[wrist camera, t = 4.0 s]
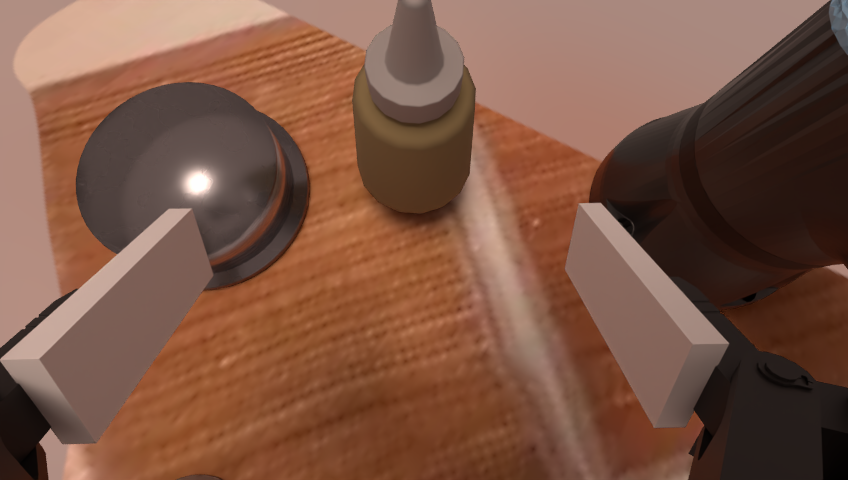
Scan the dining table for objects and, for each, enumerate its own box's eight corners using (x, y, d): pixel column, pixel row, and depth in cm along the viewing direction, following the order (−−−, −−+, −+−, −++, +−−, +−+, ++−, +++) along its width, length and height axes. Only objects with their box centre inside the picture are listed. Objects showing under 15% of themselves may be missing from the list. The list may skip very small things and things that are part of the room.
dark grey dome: (345, 162, 33) (334, 131, 28) (235, 327, 30) (201, 325, 25) (193, 78, 34) (157, 36, 30) (73, 228, 31) (10, 208, 26)
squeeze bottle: (406, 114, 34) (397, -120, 17) (484, 171, 33) (563, -16, 16) (342, 186, 33) (259, 11, 15) (423, 248, 32) (434, 136, 14)
